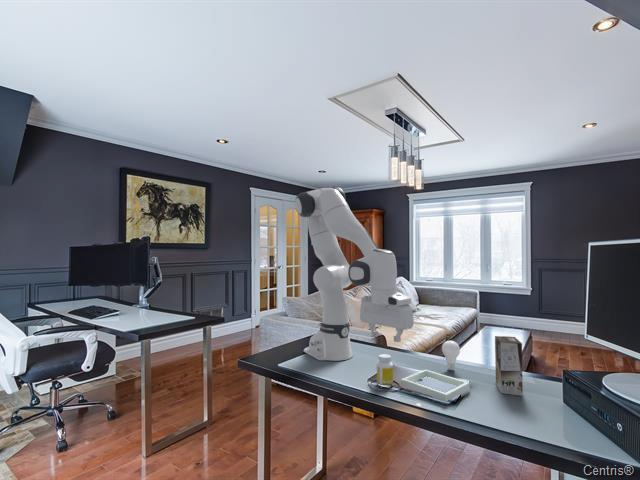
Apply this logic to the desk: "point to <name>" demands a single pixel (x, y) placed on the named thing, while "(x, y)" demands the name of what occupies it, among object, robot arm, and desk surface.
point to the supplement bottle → (384, 370)
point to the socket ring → (380, 389)
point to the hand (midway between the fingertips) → (385, 339)
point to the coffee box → (508, 365)
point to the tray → (409, 382)
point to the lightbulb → (450, 353)
